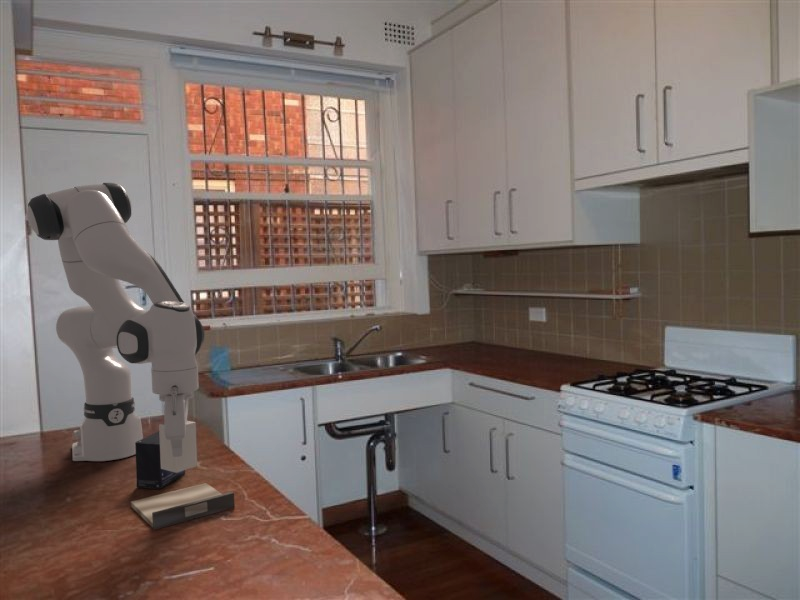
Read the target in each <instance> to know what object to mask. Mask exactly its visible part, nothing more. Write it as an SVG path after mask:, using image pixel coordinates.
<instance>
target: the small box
mask: <svg viewBox="0 0 800 600" xmlns="http://www.w3.org/2000/svg"><path fill="white" fill-rule="evenodd" d="M135 449H136V454H135V471H136V474H135V475H136V488H139V489H141V488H142V489H154V490H162V489H163V488H165V487H166V486H168V485H169V484H172V483H173V482H174V481H176V480H177V479H179V478H181V477H182V476H184V475H185V474H186V470H184V471H181V472H178V473H175V472H172V471H168V470H164V469H161V461H160V437H159V431H156V432H154V433H152V434H151V435H148V436H146V437H143V439H141V440H139V441H137V442H135Z"/></svg>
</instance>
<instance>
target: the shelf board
mask: <svg viewBox="0 0 800 600" xmlns="http://www.w3.org/2000/svg"><path fill="white" fill-rule="evenodd" d="M130 507H131V508H132V510H134V511H135V512H136V513H137V514H138V515H139V516H140V517H141V518H142V519H143V520H144V521H145V522H146V523H147V524H148V525H149V526H150V527H151V528H152V530H159V529H162V528H166V527H169V526H173V525H177V524H181V523H184V522H188V521H191V520H194V518H195V519H198V518H201V517H205V516H208V515H211V514H216V513H219V511H220V512H223V511H227V510H230V509H234V508H235V492H233V491H229V492H225V493H221V492H220V491H218V490H217V489H216V488H214V487H213V486H211V485H210V484H208V483H207V482H204V483H200V484H196V485H192V486H189V487H184V488H180V489H179V488H178V489H177V490H172V491H167V492H164V493H160V494H156V495H152V496H148V497H144V498H140V499H135V500H132V501H130ZM187 520H188V521H187Z"/></svg>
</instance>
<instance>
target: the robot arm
mask: <svg viewBox="0 0 800 600" xmlns="http://www.w3.org/2000/svg"><path fill="white" fill-rule="evenodd" d="M26 211H27V212H26V213H27V214H26V216H27V221H28V224H29V227H31V229H32V231H33V232H34V233H35V234H36V236H37V237H38V238H40V239H42V240H44V241H57V243H58V244H57V245H58V250H59V253H60V259H61V262H62V265H63V266H62V267H63V269H64V273H65V277H66V279H67V283H68V286H69V288H70V291H72V292H73V294H75V295H77V296H78V297H80V298H82V299H83V300H84V301H85V302H86V303H87V304H88V305H81V306H76V307H72V308H68V309H65V310H64V311H62V312H61V313H60V315H59V316H58V318H57V321H56V325H55V330H56V334H57V337H58V339H59V340H60V341H61V342H62V343H63V344H64V345H65V346H67V347H68V348H69V349H70V350H71V352H72V353H73V354H74V356H75V357H76V359H77V362H78V364H79V366H80V369H81V372H82V376H83V383H84V392H85V394H84V395H85V402H84V405H83V416H84V418H83V420H82V421H81V424H80V429H76V430H73V440H79V439H80V441H76V442H73V443H72V446H71V454H72V455H71V456H72V461H73V462H85V461H88V462H106V461H113V460H120V459H124V458H128V457H131V456H134V455H136V449H135V442H137V441H139V440H141V439H144V435H143V428H142V427H143V426H142V421H141V420H142V419H141V417H139V415H137V414H136V413H135V410H136V408H135V405H136V404H135V400H134V399H135V398H134V397H133V393H132V376H131V375H132V374H131V373H132V372H131V369H130V368H129V366H128V365H127V364H125V363H124V362H123V361H121V360H120V359H119V358H118V357H117V355H116V354H115V352H114V350H113V349H117V352H118V354H119V355H120V356H121V357H122V358H123V359H124V360H125V361H126V362H128V363H130V364H138V365H140V364H141V365H143V364H148V363H151V370H150V373H151V389H152V390H151V391H152V393H153V394H156V395H158V396H159V397H158V398H159V401H160V402H163V403H164V404H163V413H164V415H163V416H164V417H163V419H164V423H165V437H166V439H168V440H170V439H171V445H172V455H173V456H174V457H178V456H181V455H182V438H184V437H185V435H186V425H187V421H188V413H189V405H190V399H193V392H195V391H197V390H199V389H200V386H199V367H198V366H199V365H198V360H197V357H196V355H197V354H198V352H199V351H200V350H201V348H202V346H203V344H204V340H205V335H206V334H205V329H204V326H203V324H202V322H201V320H200V319H199V318H198V317H197V316H196V315H195V314H194V312H193V311H194V310H193V309H192V307H191V306H190V305H189V304H187V303H185V301H184V300H183V299H182V297H181V295H180V294H179V292H178V291H177V288H175V285H174V284H173V283H172V281H171V280H170V278H169V276H168V275H167V273H166V272H165V270H164V268H163V267H162V266H161V265H160V263H159V262H158V260H157V259H155V258H154V256H152V255H151V254H149V253H148V252H147V251H145V249H143V247H141V246H140V244H138V242H137V241H136V240H135V239H134V237H133V236H132V235H131V233H130V231H129V228H128V226H127V225H126V223H128V221H130V219H131V217H132V201H131V199H130V196H129V194H128V193H127V191H126V190H125V188H124V187H123V186H122V185H120V184H119V183H116V182H103V183H101V184H98V183H97V184H86V185H78V186H74V187H72V188H71V187H70V188H67V189H62V190H58V191H55V192H50V193H41V194H39V195H37V196H34V197H32V198H31V199H30V200H29V202H28V203H27V210H26ZM120 281H122V282H126V283H128V284H131V285H133V286H136V287H137V288H140V289H141V290H142V291H143V292H144V293H145V294H146V295H147V297H148V298H149V300H150V301H151V303H152V305H151V306H150V307H149V309H148V310H146V309H145V308H143V307H142V306H141V305H139V304H138V303H137V302H135V301H134V300H133V299H132V298H131V297H130V295H129V294H128V293H127V292H126V291H125V289H124V287H123V285H122V284H121V283H120Z"/></svg>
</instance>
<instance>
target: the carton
mask: <svg viewBox="0 0 800 600" xmlns="http://www.w3.org/2000/svg"><path fill="white" fill-rule="evenodd" d="M158 430H159V437H160V461H161V469H164V470H168V471H172V472H175V473H178V472H181V471H184V470H185V471H186V470H188V469H192V468H195V467H198V451H197V450H198V449H197V423H196V422H195V421H190V420H187V425H186V435H185V437H184V438H182V455H181V456H178V457H174V456H173V455H172V445H171V439H170V440H168V439H166V437H165V422H163V423H161V424H160V423H159V424H158Z"/></svg>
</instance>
